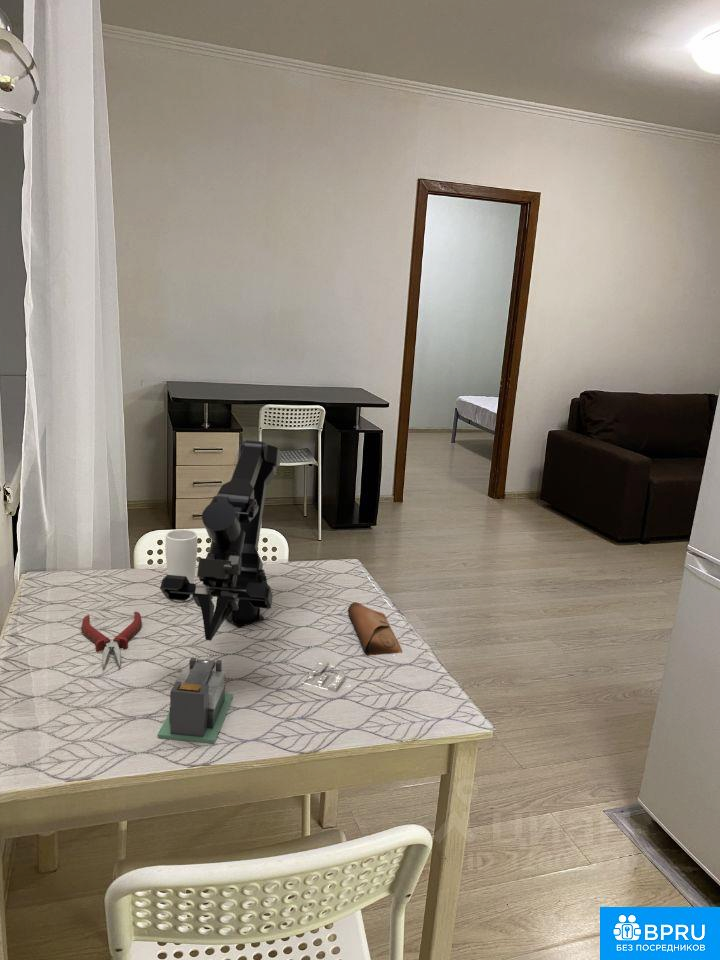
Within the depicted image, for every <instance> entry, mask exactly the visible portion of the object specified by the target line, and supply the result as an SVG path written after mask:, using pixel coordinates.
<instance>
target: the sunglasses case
mask: <svg viewBox="0 0 720 960" xmlns="http://www.w3.org/2000/svg"><path fill="white" fill-rule="evenodd" d="M347 614H348V616H349V619H350V621H351V623H352V625H353V627H354V629H355V633H356V634H357V636H358V639H359V641H360V644H361V647H362V649H363V651H364V652H365V654H366V655H367V656H375V655H377V656H378V655H391V654H400V653H401V654H402V653H403V649H402V647H401V645H400V643H399V641H398V639H397V637H396V635H395V633H394V631H393V629H392V628H391V625H390V622H389V621H388V619H387V616H386V614H385V613H383V612H380V611H378V610H374V609H372V608H369V607H367V606H365V605H363V604H362V603H359V602H357V601H355V602H352V603H351V604H350V605H349V606H348V608H347Z"/></svg>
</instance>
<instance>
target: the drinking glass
mask: <svg viewBox="0 0 720 960" xmlns="http://www.w3.org/2000/svg"><path fill="white" fill-rule="evenodd" d="M164 545H165V547H164V548H165V561H166V570H167V574H166V575H176V576H186V577H187V579H188V581H189V582H190V583H193V584H195V575H196V566H197V559H198V534H197V532H196V531H195V530H194V531H193V530H191V529H184V528H183V529H182V528H181V529H180V528H179V529H175V530H169V531H168V532H166V534H165V543H164ZM191 599H193V595H191V594H190V598H188V599H187V600H186V601H177V600H172V601H174V602H179V603H180V602H181V603H182V602H187V601H190V600H191Z"/></svg>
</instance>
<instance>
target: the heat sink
mask: <svg viewBox="0 0 720 960" xmlns="http://www.w3.org/2000/svg"><path fill="white" fill-rule="evenodd" d="M191 670H192V669H189V668H188V667H187V668H183V669H182V670H181V671H180V674H179V675H178V677H177V679H176V681H177V682H181V685H182V683H184V682H185V681H186V679H187V677H188V675H189V674H190V672H191ZM225 673H226V672H225V671H221V672H219V671H215V670H212V672H211V674H210V676H209V678H208V680H207V682H206V684H208V685H209V694H208V713H207V728H212V729H213V727H214V725H215V722H216V720H217V717H218V715H219V713H220V710H221V708H222V706H223V703H224V701H225V693H226V684H225V683H226V682H225V679H226V677H225V676H226V675H225ZM168 711H169V713H168V714H169V724H170V707H169V710H168Z"/></svg>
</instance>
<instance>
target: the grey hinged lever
mask: <svg viewBox="0 0 720 960" xmlns="http://www.w3.org/2000/svg"><path fill="white" fill-rule="evenodd" d="M215 664H216V660H211V659H210V660H208V659H202V658H201V659H200V658H196V663H195V665H194V667H193V669H192V670H191V672H190V674H189V675H188V677H187V679H186V681H185V682H184V683H182V685H181V686H180V688H179V691H189V692H200V690H201V688H202V686H203V684H206V682H207V680H208V678H209V676H210V674H211V672H212V671H214V669H215Z"/></svg>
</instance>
